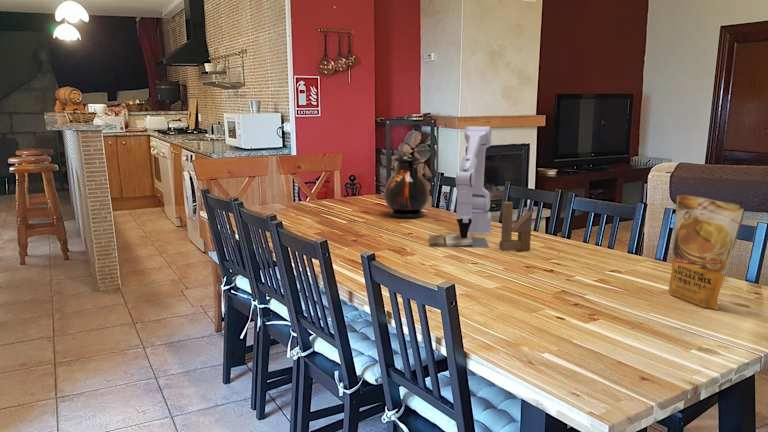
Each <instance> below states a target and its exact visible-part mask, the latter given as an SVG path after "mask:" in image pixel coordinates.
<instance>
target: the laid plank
mask: <svg viewBox="0 0 768 432" xmlns="http://www.w3.org/2000/svg"><path fill="white" fill-rule="evenodd" d="M428 239H429V240H428V241H429V247H430V246H446V242H445V236H444V235H443V234H429V236H428Z"/></svg>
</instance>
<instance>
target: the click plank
mask: <svg viewBox="0 0 768 432" xmlns="http://www.w3.org/2000/svg"><path fill="white" fill-rule="evenodd" d="M444 237H445V240H446V245H447V246H460V245H473V241H472V238H473V237H472V236H471V233H468V235H467V238H461V236H460V233H456V234H453V233H452V234H445V235H444Z"/></svg>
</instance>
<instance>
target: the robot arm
mask: <svg viewBox="0 0 768 432" xmlns="http://www.w3.org/2000/svg"><path fill="white" fill-rule="evenodd" d="M464 140H465V141H466V144H467V148H466V154H465V155H464V156H463V157H462V159H461V164H460V166H459V170H458V172H456V174H455V189H456V195H457V196H456V213H453V217H456V218H457V217H458V218H457V219H456V222H457V224H458V228H459V234H460V236H461V238H467V235H468V233H470V234H491V231H492V213H491V211H489V210H490V207H491V194H490V191H488V190H487V189H486V188H485V187H484V184H485V164H486V151H487V148H489V147H491V144H492V129H491V126H490V125H488V126H475V125H474V126H473V125H471V126H469V125H467V126H466V127H465V129H464Z"/></svg>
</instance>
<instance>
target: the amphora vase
mask: <svg viewBox="0 0 768 432" xmlns="http://www.w3.org/2000/svg"><path fill="white" fill-rule="evenodd" d="M393 161H394V162H396V163H397V164H396V170H395V172H394V173H393V174H392V175H391V176H390V177H389V179H388V180H387V183H386V185H385V188H384V201H385V202H386V206H388V207H389V208H390V209H391V210H390V211H389V215H390V216H391V217H392V218H397V219H417V218H421V217H423V215H425V212H424V211H423V209H424V208H425V207H426V206H427V204H429V200H430V190H429V189H430V188H429V185H428V183H427V181H426V179H425V178H424V176H423V175H422V174H421V172H419V169H418V166H417V163H418V162H420V161H421V158H420V157H419V156H396V157H394V158H393Z"/></svg>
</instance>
